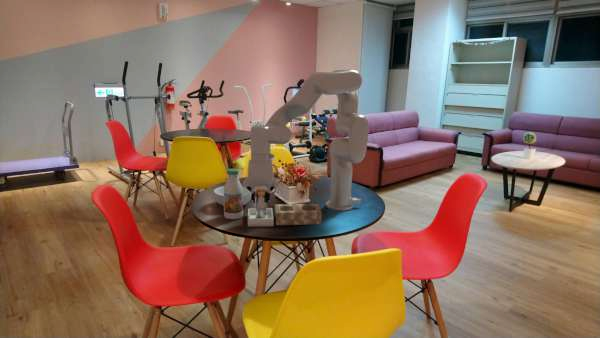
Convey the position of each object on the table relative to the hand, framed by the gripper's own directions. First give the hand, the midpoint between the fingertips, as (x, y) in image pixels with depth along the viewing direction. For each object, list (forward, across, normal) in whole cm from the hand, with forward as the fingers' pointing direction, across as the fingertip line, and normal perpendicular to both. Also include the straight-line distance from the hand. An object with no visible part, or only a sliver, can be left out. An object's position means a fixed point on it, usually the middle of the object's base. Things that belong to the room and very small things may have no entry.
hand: (260, 201), depth 148 cm
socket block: (+8, -15, 0) cm, 17 cm away
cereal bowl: (+8, +12, -19) cm, 24 cm away
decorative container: (+8, -2, -40) cm, 41 cm away
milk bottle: (+8, +11, -5) cm, 15 cm away
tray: (+8, 0, 0) cm, 8 cm away
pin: (+7, 0, 0) cm, 7 cm away
